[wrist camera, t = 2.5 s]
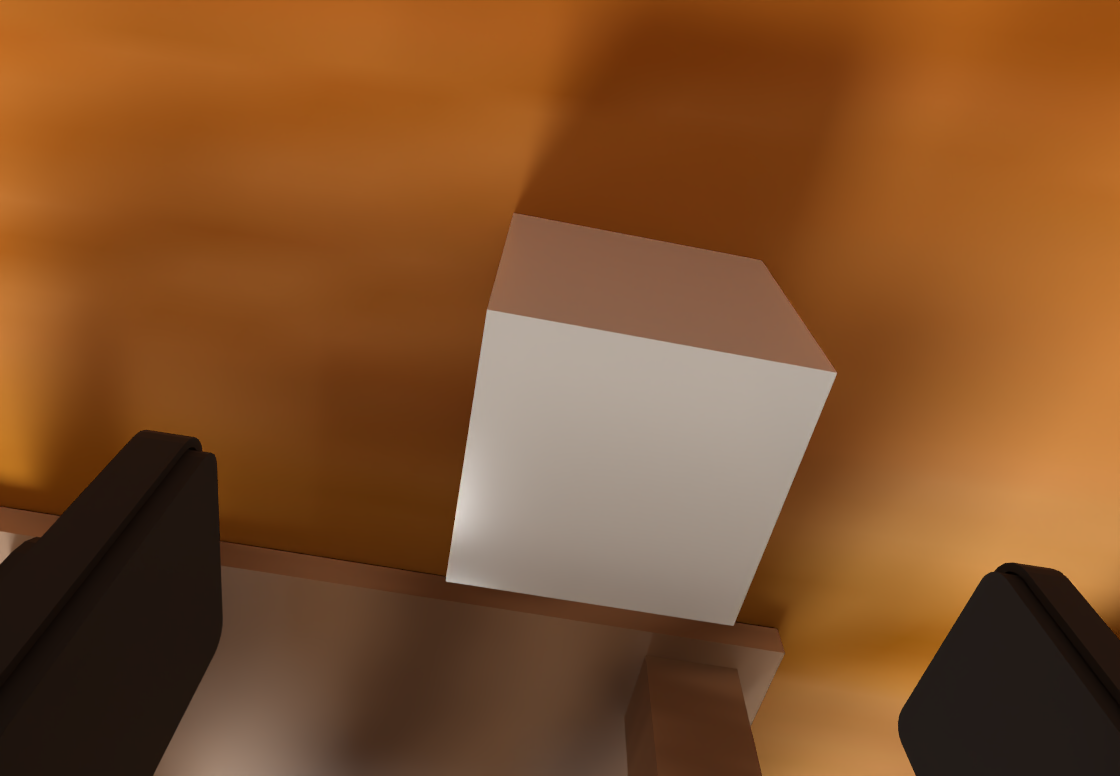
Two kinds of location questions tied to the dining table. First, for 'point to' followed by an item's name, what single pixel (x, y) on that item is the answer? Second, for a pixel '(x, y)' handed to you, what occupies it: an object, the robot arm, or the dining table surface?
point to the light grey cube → (632, 422)
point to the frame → (453, 678)
